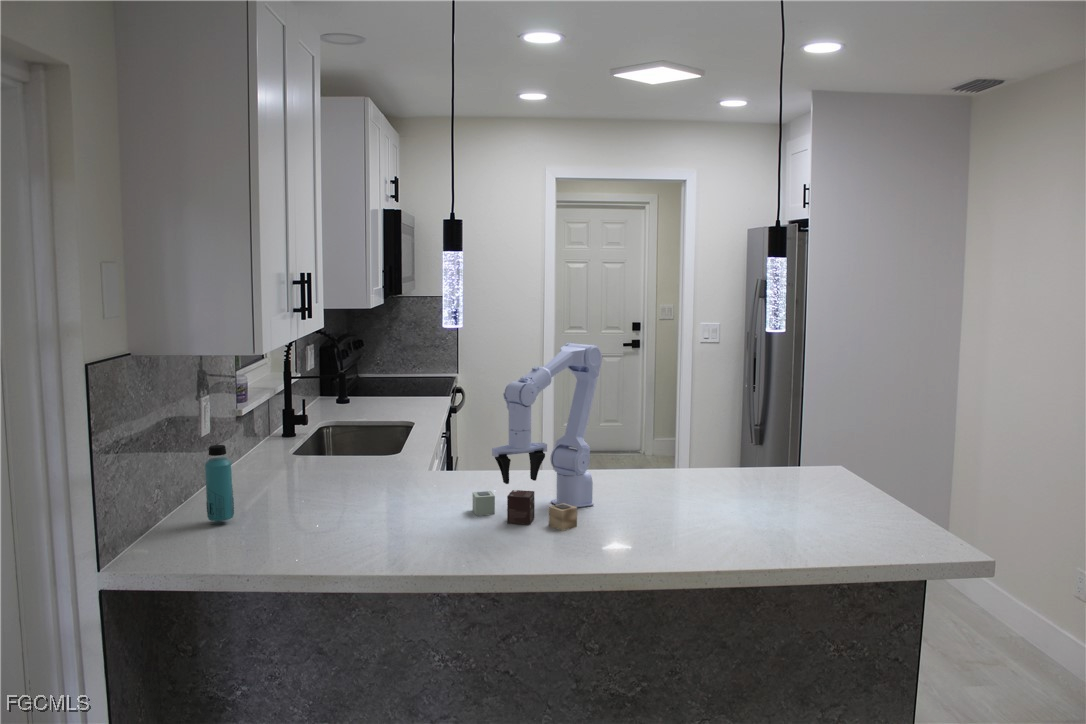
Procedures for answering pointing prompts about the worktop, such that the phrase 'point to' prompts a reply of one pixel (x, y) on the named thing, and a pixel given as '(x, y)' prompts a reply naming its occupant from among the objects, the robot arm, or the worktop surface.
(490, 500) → the sage marked block
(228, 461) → the beverage bottle
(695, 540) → the worktop surface
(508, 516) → the box
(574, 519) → the oak marked block
